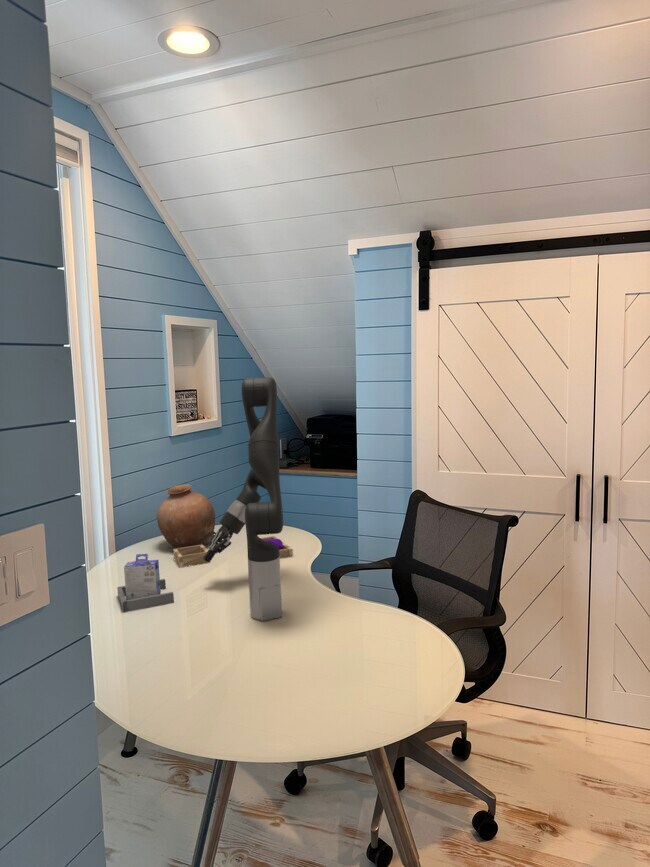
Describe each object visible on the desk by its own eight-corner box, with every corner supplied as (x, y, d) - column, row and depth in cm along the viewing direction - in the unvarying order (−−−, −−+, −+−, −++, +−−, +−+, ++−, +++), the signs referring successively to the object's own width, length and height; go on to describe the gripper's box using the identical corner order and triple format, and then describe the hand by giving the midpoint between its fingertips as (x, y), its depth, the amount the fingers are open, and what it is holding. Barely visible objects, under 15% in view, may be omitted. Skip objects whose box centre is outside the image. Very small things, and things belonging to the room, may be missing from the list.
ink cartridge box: (161, 595, 192) (158, 551, 191) (158, 602, 187) (155, 557, 185) (130, 597, 192) (127, 553, 190) (126, 604, 186) (122, 559, 185)
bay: (174, 602, 187) (173, 592, 186) (123, 612, 180) (123, 602, 180) (165, 587, 200) (164, 578, 199) (117, 596, 193) (117, 587, 193)
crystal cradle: (292, 556, 227) (292, 548, 227) (268, 560, 223) (267, 553, 223) (273, 542, 246) (273, 535, 245) (250, 546, 241) (250, 539, 241)
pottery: (224, 538, 255) (220, 480, 252) (203, 555, 232) (200, 492, 229) (173, 537, 259) (170, 480, 256) (148, 554, 236) (144, 491, 233)
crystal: (261, 536, 242) (286, 539, 232) (263, 548, 243) (287, 551, 232) (252, 539, 239) (277, 542, 228) (253, 551, 239) (278, 554, 229)
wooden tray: (210, 562, 223) (209, 552, 223) (180, 567, 219) (179, 557, 218) (202, 554, 234) (202, 544, 233) (173, 559, 229) (173, 549, 228)
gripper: (221, 507, 205) (190, 550, 201) (235, 514, 194) (203, 559, 189) (237, 519, 208) (207, 561, 204) (252, 526, 197) (221, 571, 192)
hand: (205, 560), depth 197 cm, fingers closed
